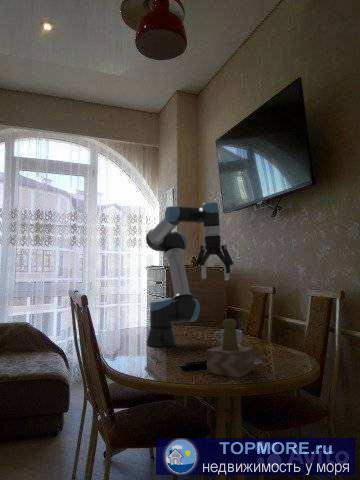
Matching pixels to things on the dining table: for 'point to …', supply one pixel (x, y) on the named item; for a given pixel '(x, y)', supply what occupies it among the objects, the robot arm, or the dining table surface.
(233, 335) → the cork
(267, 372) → the dining table surface
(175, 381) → the dining table surface
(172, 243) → the robot arm
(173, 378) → the dining table surface
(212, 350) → the walnut block
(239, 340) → the teacup
